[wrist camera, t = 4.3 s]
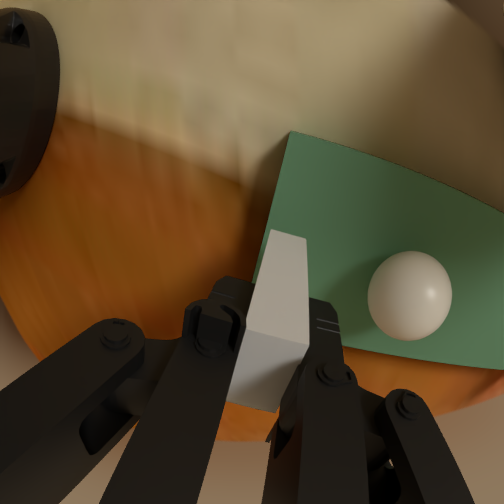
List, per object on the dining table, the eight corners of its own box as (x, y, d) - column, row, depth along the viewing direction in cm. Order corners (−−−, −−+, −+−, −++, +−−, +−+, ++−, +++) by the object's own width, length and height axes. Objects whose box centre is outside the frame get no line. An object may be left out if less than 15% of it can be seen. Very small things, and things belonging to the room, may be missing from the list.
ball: (349, 299, 15) (360, 351, 11) (378, 227, 13) (404, 266, 10) (413, 314, 15) (435, 364, 11) (445, 249, 13) (481, 289, 9)
